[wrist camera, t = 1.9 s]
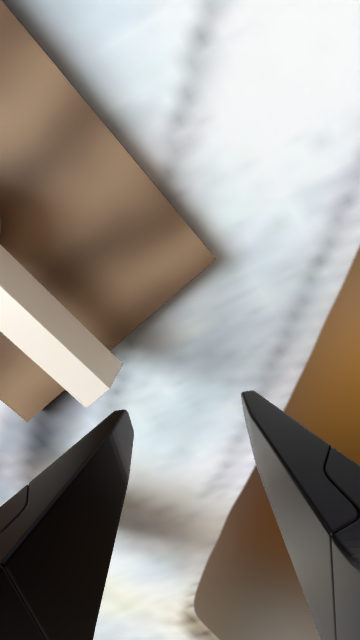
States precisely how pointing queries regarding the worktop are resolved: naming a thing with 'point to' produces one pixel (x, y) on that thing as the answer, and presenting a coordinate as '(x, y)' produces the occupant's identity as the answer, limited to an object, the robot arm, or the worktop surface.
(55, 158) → the post board
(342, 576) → the robot arm
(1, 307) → the orange and white spoon
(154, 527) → the worktop surface
